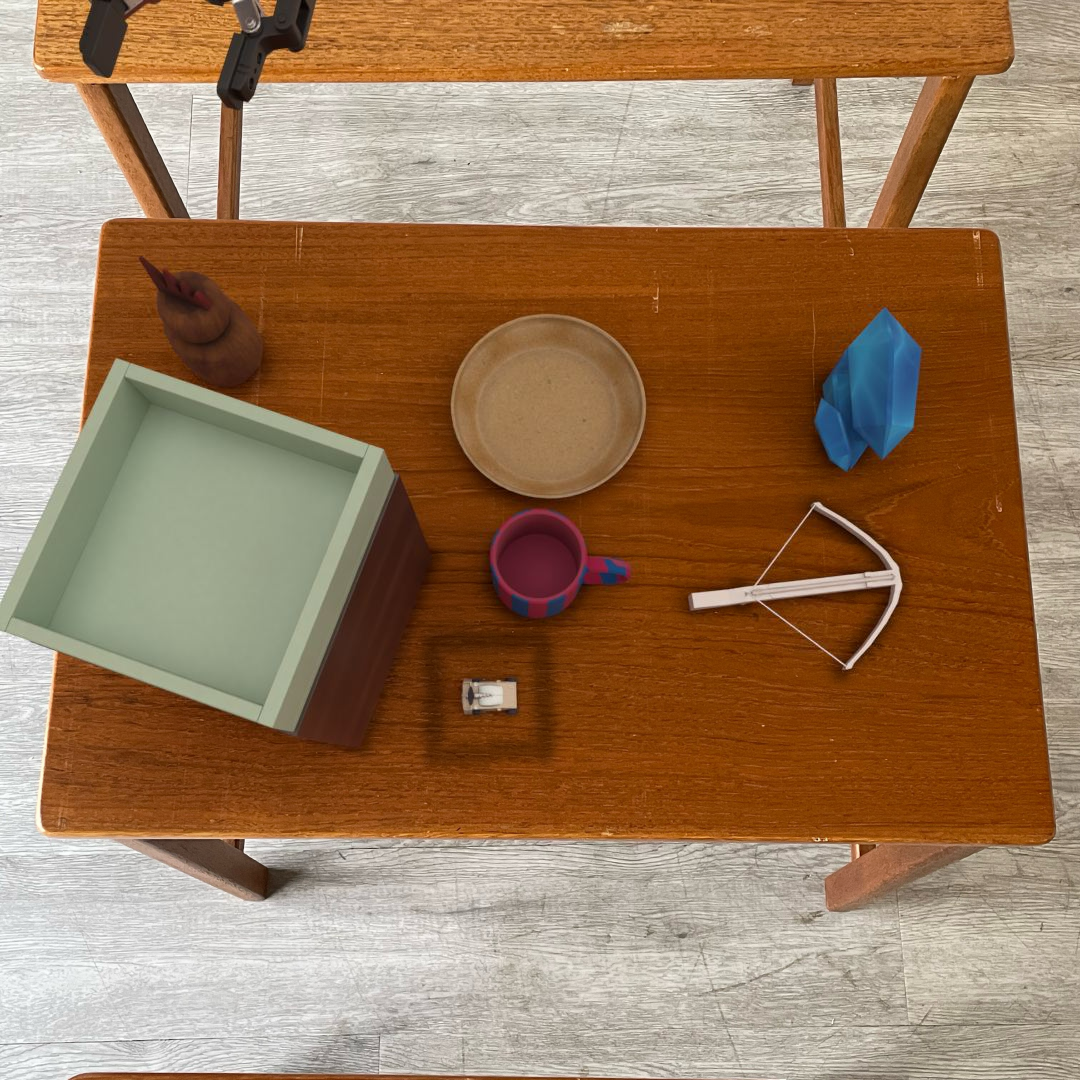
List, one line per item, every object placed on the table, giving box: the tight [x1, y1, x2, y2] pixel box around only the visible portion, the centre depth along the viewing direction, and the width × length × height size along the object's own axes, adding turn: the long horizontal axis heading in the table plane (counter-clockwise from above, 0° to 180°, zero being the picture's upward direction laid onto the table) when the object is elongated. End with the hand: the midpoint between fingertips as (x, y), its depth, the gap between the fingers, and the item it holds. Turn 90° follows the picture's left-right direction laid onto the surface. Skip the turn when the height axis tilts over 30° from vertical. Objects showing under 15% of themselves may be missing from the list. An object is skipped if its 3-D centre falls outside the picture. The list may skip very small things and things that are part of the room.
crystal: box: [813, 306, 922, 472], centre depth 78 cm, size 7×9×12 cm
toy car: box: [460, 676, 519, 716], centre depth 75 cm, size 3×4×2 cm, turn 92°
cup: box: [489, 508, 632, 619], centre depth 75 cm, size 7×10×7 cm
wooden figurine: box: [138, 255, 264, 388], centre depth 74 cm, size 7×6×15 cm
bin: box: [0, 358, 394, 732], centre depth 53 cm, size 15×15×5 cm
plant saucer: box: [450, 313, 647, 499], centre depth 80 cm, size 15×15×3 cm
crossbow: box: [687, 501, 904, 671], centre depth 77 cm, size 16×13×2 cm
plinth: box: [29, 471, 433, 749], centre depth 66 cm, size 15×15×22 cm
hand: (161, 86), depth 61 cm, fingers open, 8 cm apart
